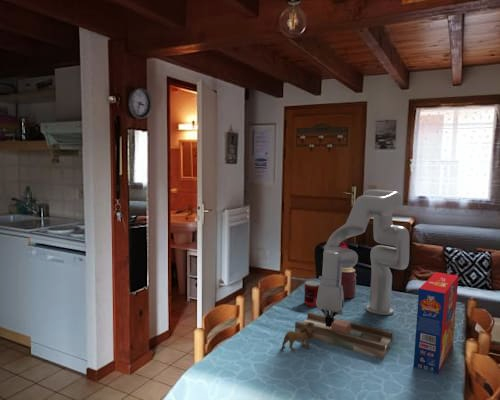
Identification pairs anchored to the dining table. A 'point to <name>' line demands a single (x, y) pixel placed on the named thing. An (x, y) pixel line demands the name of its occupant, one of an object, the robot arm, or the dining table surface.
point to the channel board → (350, 336)
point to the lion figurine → (300, 336)
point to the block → (341, 326)
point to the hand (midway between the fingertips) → (329, 325)
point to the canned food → (311, 293)
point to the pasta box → (435, 321)
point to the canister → (348, 282)
